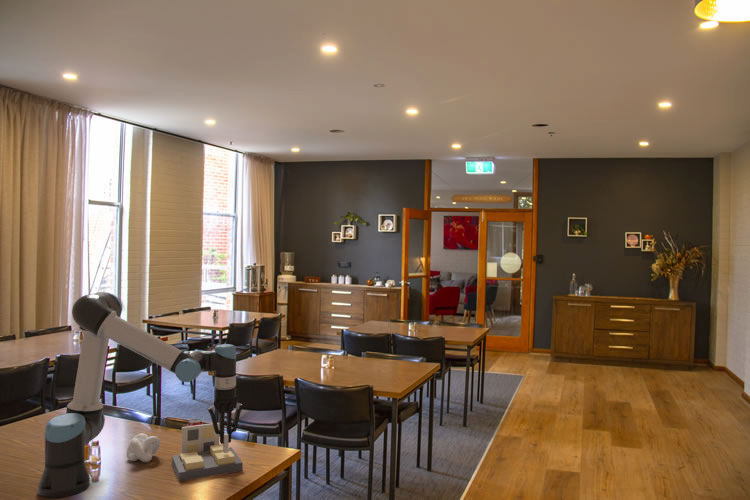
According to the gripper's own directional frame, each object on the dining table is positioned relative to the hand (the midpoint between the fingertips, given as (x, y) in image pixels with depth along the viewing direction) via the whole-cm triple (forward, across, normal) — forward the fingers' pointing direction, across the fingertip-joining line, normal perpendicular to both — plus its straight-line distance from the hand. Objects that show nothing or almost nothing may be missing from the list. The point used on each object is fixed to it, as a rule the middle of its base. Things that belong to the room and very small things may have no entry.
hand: (225, 451), depth 207 cm
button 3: (+4, 0, +9) cm, 10 cm away
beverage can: (+6, -7, +25) cm, 26 cm away
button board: (+6, -6, +7) cm, 11 cm away
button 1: (+5, -11, +9) cm, 16 cm away
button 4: (+4, 0, 0) cm, 4 cm away
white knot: (+6, -27, +24) cm, 36 cm away
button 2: (+4, -11, 0) cm, 12 cm away
